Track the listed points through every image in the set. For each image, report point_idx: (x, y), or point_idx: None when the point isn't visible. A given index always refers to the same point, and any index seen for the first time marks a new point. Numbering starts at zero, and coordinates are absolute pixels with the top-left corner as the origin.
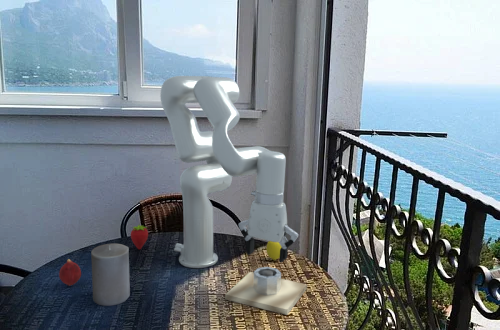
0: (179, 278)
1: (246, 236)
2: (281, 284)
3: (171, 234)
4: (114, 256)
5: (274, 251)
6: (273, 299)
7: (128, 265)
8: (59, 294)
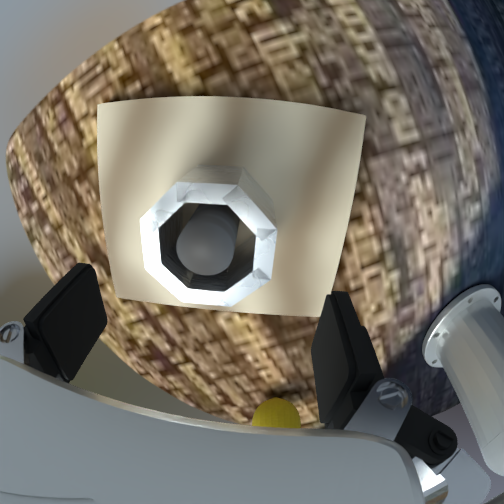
0: (498, 218)
1: (403, 417)
2: None
3: None
4: None
5: (271, 415)
6: (163, 146)
7: None
8: None
